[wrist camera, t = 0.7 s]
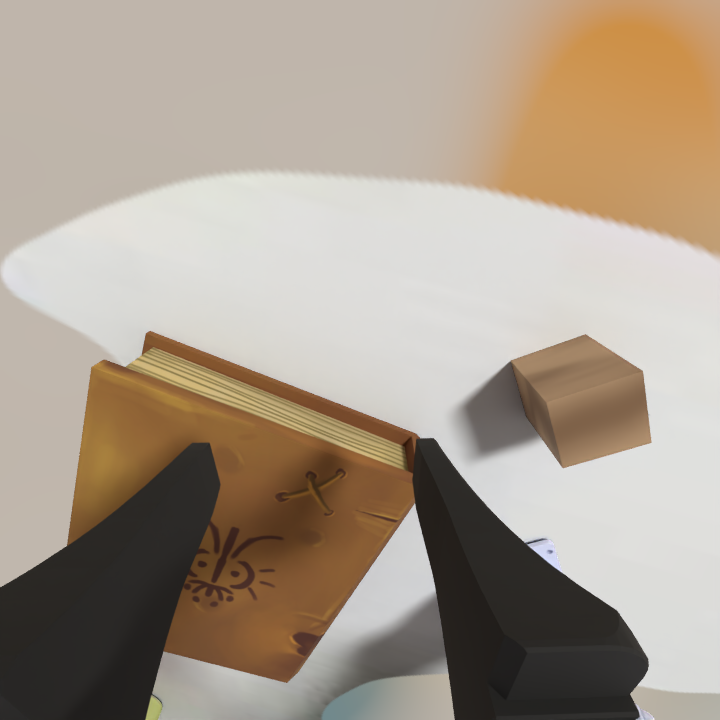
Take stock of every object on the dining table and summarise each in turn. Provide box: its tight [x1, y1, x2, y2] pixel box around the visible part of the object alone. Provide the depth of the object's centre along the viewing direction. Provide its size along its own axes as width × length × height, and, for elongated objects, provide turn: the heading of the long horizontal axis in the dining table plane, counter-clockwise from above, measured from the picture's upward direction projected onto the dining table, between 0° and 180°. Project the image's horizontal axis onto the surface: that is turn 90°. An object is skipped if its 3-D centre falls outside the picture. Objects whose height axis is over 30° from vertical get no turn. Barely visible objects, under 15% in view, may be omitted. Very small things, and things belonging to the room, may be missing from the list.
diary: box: [67, 331, 421, 683], centre depth 26 cm, size 23×19×6 cm
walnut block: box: [511, 334, 651, 468], centre depth 20 cm, size 4×4×5 cm
